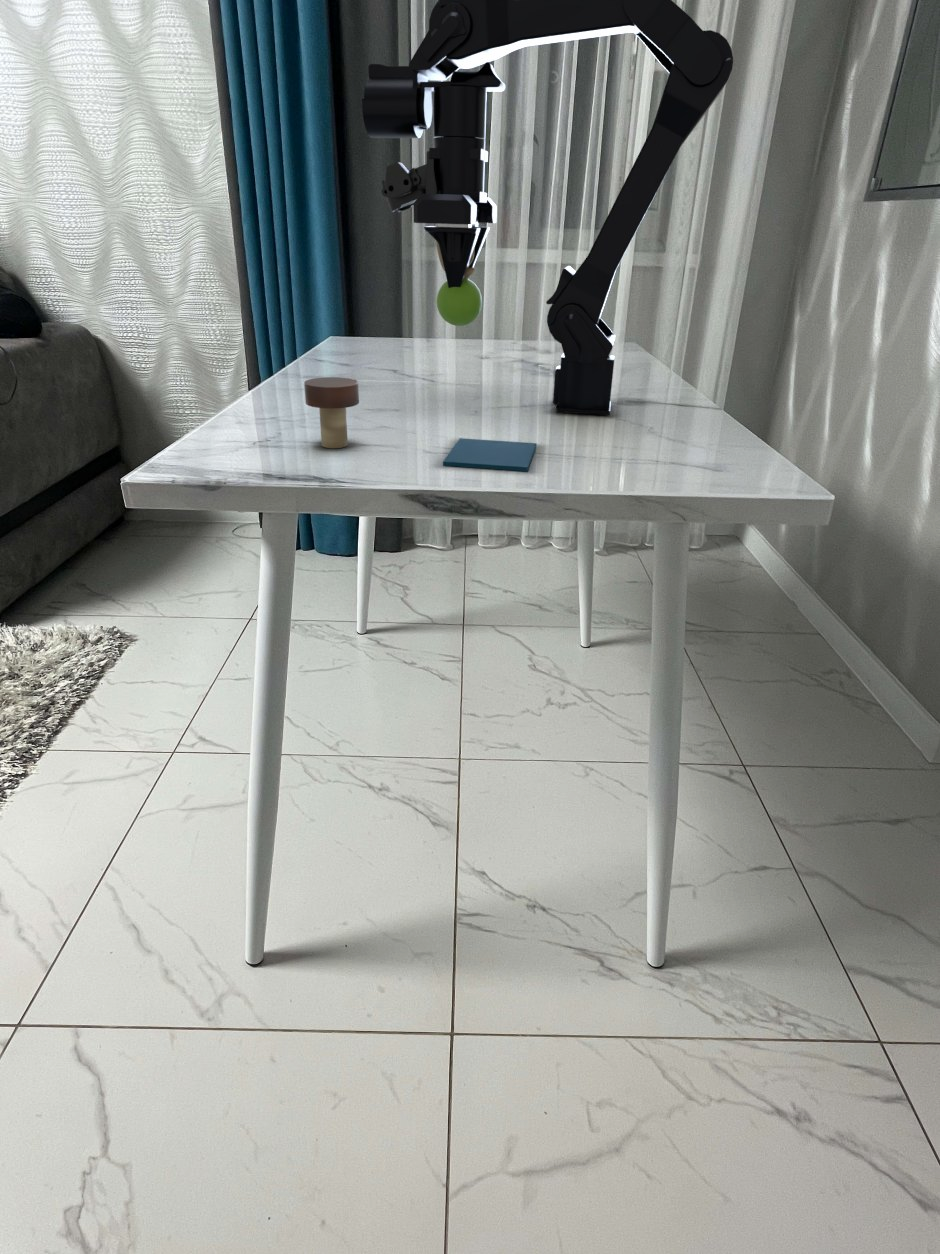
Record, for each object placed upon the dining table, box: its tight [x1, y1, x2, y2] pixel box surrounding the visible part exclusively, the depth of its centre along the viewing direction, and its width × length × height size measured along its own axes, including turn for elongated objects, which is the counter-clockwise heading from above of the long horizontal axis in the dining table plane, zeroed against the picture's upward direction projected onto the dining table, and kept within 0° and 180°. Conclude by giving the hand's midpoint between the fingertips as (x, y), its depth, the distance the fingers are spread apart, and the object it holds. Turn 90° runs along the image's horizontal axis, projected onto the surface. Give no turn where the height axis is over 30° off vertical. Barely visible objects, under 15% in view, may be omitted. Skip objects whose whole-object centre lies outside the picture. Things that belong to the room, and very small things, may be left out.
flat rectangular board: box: [442, 437, 538, 472], centre depth 79 cm, size 8×9×1 cm
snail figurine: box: [433, 223, 483, 327], centre depth 95 cm, size 5×6×12 cm
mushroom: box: [303, 376, 360, 449], centre depth 80 cm, size 5×5×6 cm
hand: (457, 291), depth 96 cm, fingers closed on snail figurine, 3 cm apart
